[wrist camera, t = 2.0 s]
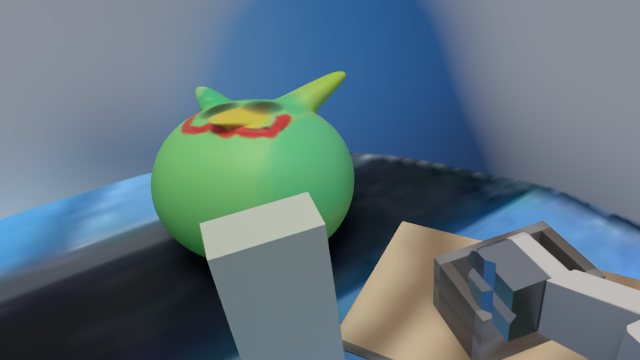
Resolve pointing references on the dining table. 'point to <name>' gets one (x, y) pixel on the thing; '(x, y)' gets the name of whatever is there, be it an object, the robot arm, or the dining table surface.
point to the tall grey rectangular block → (276, 280)
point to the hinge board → (410, 304)
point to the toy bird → (251, 160)
